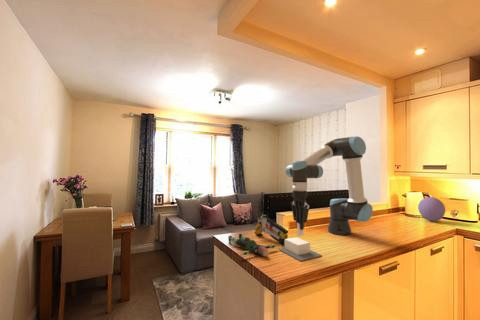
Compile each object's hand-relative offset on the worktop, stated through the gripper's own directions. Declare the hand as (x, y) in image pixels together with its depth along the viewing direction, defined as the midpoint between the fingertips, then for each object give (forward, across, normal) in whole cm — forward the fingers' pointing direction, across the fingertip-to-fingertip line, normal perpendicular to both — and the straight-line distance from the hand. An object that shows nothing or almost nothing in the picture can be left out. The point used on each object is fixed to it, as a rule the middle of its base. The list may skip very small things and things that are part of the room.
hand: (300, 235), depth 119 cm
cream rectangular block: (+6, +2, 0) cm, 7 cm away
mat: (+9, 0, 0) cm, 9 cm away
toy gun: (+10, -26, -1) cm, 28 cm away
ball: (+10, -5, +145) cm, 145 cm away
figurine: (+10, -18, -21) cm, 29 cm away
